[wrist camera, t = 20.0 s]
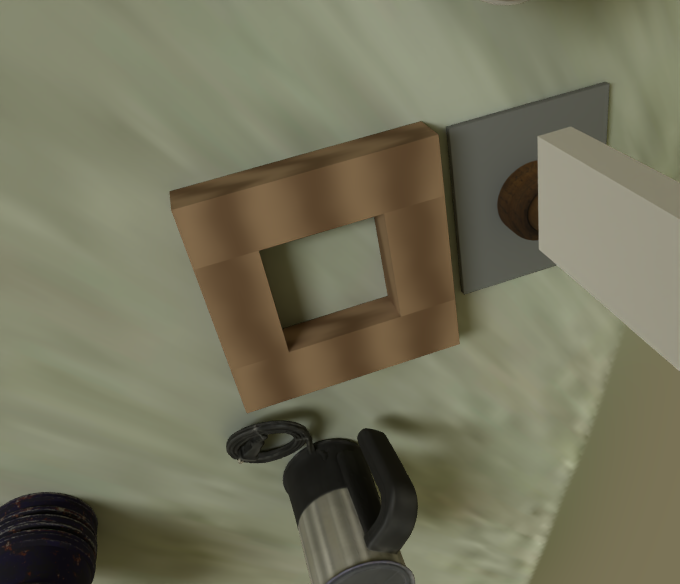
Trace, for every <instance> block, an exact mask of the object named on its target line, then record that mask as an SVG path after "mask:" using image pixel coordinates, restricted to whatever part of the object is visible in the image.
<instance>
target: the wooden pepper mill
mask: <svg viewBox="0 0 680 584" xmlns="http://www.w3.org/2000/svg"><path fill="white" fill-rule="evenodd" d="M497 209H498V214H499V217H500V219H501V221H502V222H503V223H504V224H505V225H506V226H507V227H508V228H509V229H510V230H512V231H513V232H514V233H515V234H516V235H518V236H519V237H521V238H523V239H526V240H532V241H536V240H539V222H538V160H536V161H532V162H529V163H527V164H525V165H523V166H521V167H519V168H518V169H517V170H515V171H514V172H513V173H512V174H511V175H510V176H509V177H508V178H507V180H506V181H505V183H504V184H503V186H502V188H501V190H500V193H499V196H498V202H497Z"/></svg>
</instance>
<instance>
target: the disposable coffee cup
mask: <svg viewBox="0 0 680 584" xmlns="http://www.w3.org/2000/svg"><path fill="white" fill-rule="evenodd" d="M481 1H483V2H487V3H491V4H494V5H514V4H519V3H523V2H526V1H529V0H481Z"/></svg>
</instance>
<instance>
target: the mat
mask: <svg viewBox="0 0 680 584" xmlns="http://www.w3.org/2000/svg"><path fill="white" fill-rule="evenodd" d="M608 103H609V83H607V82H603V83H600V84H596V85H592V86H589V87H585V88H582V89H578V90H575V91H571V92H568V93H564V94H560V95H557V96H553V97H550V98H546V99H543V100H539V101H536V102H532V103H529V104H525V105H521V106H518V107H514V108H511V109H507V110H504V111H500V112H497V113H493V114H490V115H486V116H482V117H479V118H475V119H472V120H468V121H465V122H461V123H458V124H454V125H451V126H447V127H446V131H447V142H448V152H449V163H450V174H451V184H452V195H453V206H454V216H455V227H456V238H457V248H458V259H459V270H460V280H461V291H462V292H463V294H467V293H471V292H474V291H477V290H480V289H483V288H486V287H489V286H493V285H496V284H499V283H502V282H505V281H508V280H512V279H515V278H518V277H521V276H524V275H527V274H530V273H534V272H537V271H540V270H543V269H546V268H549V267H553V266H556V264H555V263H554V262H553V261H552V260H551V259H549V258H548V257H547V256H546V255H545V254H544V253H542V252H541V251H540V250H539V240H536V241H532V240H526V239H523V238H521V237H519V236H518V235H516V234H515V233H514V232H513V231H512V230H510V229H509V228H508V227H507V226H506V225H505V224H504V223H503V222H502V221H501V219H500V217H499V214H498V209H497V202H498V196H499V193H500V190H501V188H502V186H503V184H504V183H505V181H506V180H507V178H508V177H509V176H510V175H511V174H512V173H513V172H514V171H515V170H517V169H518V168H519V167H521V166H523V165H525V164H527V163H529V162H532V161H536V160H538V138H537V136H540V135H543V134H547V133H550V132H554V131H557V130H560V129H564V128H567V127H573V128H575V129H577V130H579V131H581V132H583V133H585V134H587V135H589V136H591V137H592V138H594V139H596V140H598V141H600V142H602V143H604V144H606V141H607V122H608Z"/></svg>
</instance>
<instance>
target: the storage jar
mask: <svg viewBox="0 0 680 584" xmlns="http://www.w3.org/2000/svg"><path fill="white" fill-rule="evenodd" d="M97 526H98V522H97V517H96V515H95V513H94V511H93V510H92V508H91V507H90V506H88V505H87V504H86V503H85V502H83V501H82V500H80V499H78V498H75V497H73V496H70V495H66V494H61V493H52V492H43V493H33V494H28V495H24V496H21V497H18V498H15V499H13V500H11V501H9V502H7V503H6V504H4V505H3V506H1V507H0V584H91V583H92V581H93V578H94V573H95V569H96V564H95V563H96V558H97V536H96V534H97Z"/></svg>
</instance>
